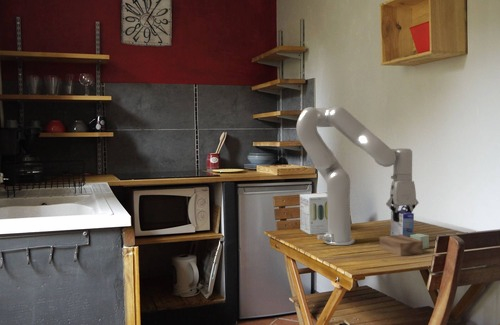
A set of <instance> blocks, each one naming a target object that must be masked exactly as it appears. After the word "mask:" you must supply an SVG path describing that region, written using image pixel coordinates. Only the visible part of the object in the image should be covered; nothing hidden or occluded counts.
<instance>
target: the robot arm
mask: <svg viewBox="0 0 500 325" xmlns="http://www.w3.org/2000/svg"><path fill="white" fill-rule="evenodd" d="M329 127H330V128H332V127H334V128H335V129H336V130H337V131H338V132H339V133H341V134H342V135H343V136H344V137H346V139H347V140H349V141H350V142H351V143H352V144H353V145H355V146H357V147H358V148H360V149H361V150H363V151H364V152H366V154H368V155H369V156H370V157H371V158H373V160H374V162H375V163H376V164H377V165H378V166H382V167H383V168H384V167H385V168H388V167H392V166H393V174H392V175H391V176H390V178H391V180H392V181H391V185H390V192H389V194H390V196H389V199H388V200H387V202H386V203H385V205H386V207H388V208H389V209H390V211H392V212H393V221H396V222H399V212H398V210H399V209H400V206H401V207H402V206H406V207H408V208H407V210H406V212H410V213H413V211H414V210H415V208H416V207H417V205H418V204H419V203H420V202H419V201H418V200H417V193H416V185H415V181H413V151H412V149H411V148H396V149H395V148H390V146H388V145H387V144H386V143H385V142H384V141H382V140H381V139H380V138H379V137H377V135H375V133H373V132H372V131H371V130H370V129H368V128H367V127H366V126H365V125H364V124H362V123H361V121H359V120H358V119H357V118H356V117H354V116H353V115H352V114H351V113H350V112H349V111H348V110H346V109H345V108H344V107H343V106H339V105H337V106H333V107H313V106H310V107H309V106H308V107H306V108H304V109H303V110H302V111H301V112H300V114H299V116H298V118H297V122H296V134H297V138H298V140H299V142H300V143H301V145H302V147H303V148H304V150H305V152H306V153H307V154H308V156H309V158H310V159H311V161H312V163H313V165H314V167H315V168H316V169H317V171H318V172H319V174H320V175H321V177H322V179H324V181H325V183H326V193H327V209H328V232H326V233H323V234H316V237H317V240H324V244H328V245H329V246H330V245H331V246H348V245H353V244H355V238H353V237H351V236H352V233H351V232H352V231H351V178H350V174H349V173H348V172H347V170H345V168H344V167H343V166H342V165H341V163H340V162H339V160H338V159H337V157H336V156H335V155H334V153H333V151H332V150H331V149H330V148H329V146H328V145H327V144H326V142H325V141H324V139H323V138H322V136H321V134H320V133H319V132H318V131H319V130H318V128H329Z"/></svg>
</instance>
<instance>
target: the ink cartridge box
mask: <svg viewBox="0 0 500 325" xmlns="http://www.w3.org/2000/svg"><path fill="white" fill-rule="evenodd" d="M407 208H408V207H406V205H405V206H401V209H400V210H399V209H398V212H399V222H396V221H393V212H392V210H390V211H391V212H390V235H389V236H393V235H404V236H407V237H410V235H413V234H414V230H415V229H414V224H415V223H414V221H415V220H414V218H415V216H414V215H415V213H413V212H412V213H410V212H406V211H407Z"/></svg>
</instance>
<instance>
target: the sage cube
mask: <svg viewBox="0 0 500 325" xmlns="http://www.w3.org/2000/svg"><path fill="white" fill-rule="evenodd" d="M410 238H414V239H417V240H421V241H423V250H425V249H429V248H430V235H429V234H423V233H415V234H414V233H413V235H410Z"/></svg>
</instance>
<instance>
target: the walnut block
mask: <svg viewBox="0 0 500 325" xmlns="http://www.w3.org/2000/svg"><path fill="white" fill-rule="evenodd" d="M379 249H380V250H382V251H386V252H389V253H391V254H394V255H397V256H399V257H403V256H404V257H405V256H409V255H410V256H411V255H412V256H413V255H419V254H424V249H423V241H421V240H417V239H414V238H410V237H407V236H404V235H393V236H390V235H385V236H379Z"/></svg>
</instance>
